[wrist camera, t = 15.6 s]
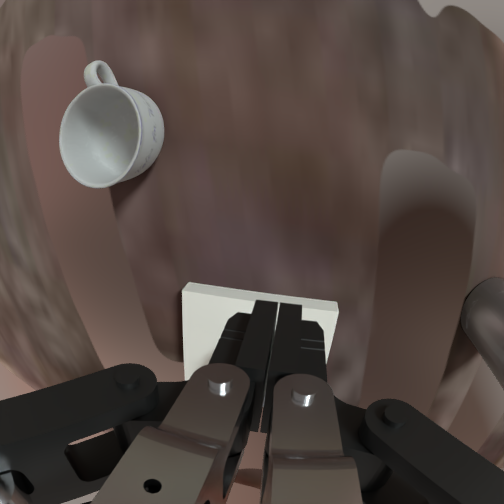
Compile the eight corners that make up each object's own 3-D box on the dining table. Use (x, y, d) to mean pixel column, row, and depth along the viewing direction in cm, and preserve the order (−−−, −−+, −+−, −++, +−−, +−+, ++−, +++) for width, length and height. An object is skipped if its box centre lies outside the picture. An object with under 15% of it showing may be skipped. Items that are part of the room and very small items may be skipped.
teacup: (174, 178, 36) (142, 187, 28) (98, 181, 37) (57, 191, 30) (175, 61, 31) (143, 43, 24) (97, 75, 33) (57, 66, 25)
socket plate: (336, 301, 37) (338, 311, 35) (315, 388, 42) (315, 401, 39) (188, 282, 39) (182, 290, 37) (190, 369, 44) (184, 380, 41)
